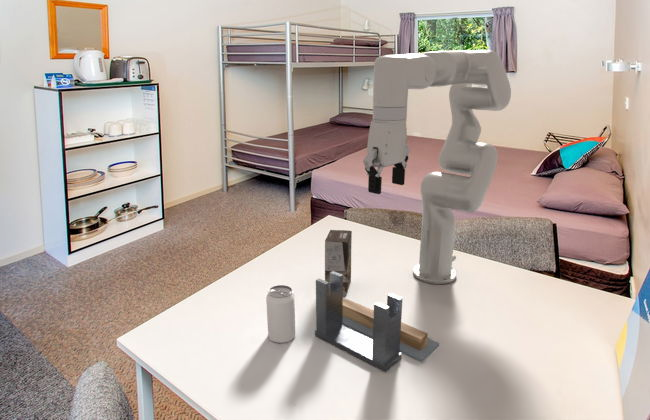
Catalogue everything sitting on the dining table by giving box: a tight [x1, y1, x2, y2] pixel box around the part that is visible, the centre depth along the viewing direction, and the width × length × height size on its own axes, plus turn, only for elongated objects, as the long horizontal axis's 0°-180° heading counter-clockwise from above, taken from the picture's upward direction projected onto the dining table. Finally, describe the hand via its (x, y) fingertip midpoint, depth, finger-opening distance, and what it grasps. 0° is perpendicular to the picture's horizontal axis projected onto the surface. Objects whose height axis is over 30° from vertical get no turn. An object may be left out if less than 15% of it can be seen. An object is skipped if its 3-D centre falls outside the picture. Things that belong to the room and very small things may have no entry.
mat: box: [342, 316, 441, 363], centre depth 109 cm, size 8×28×1 cm, turn 48°
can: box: [265, 284, 297, 344], centre depth 105 cm, size 6×6×12 cm
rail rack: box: [314, 271, 403, 374], centre depth 100 cm, size 6×20×15 cm, turn 48°
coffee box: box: [324, 229, 353, 297], centre depth 127 cm, size 9×6×16 cm
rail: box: [343, 297, 429, 350], centre depth 108 cm, size 3×24×3 cm, turn 49°
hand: (386, 188), depth 106 cm, fingers open, 9 cm apart
